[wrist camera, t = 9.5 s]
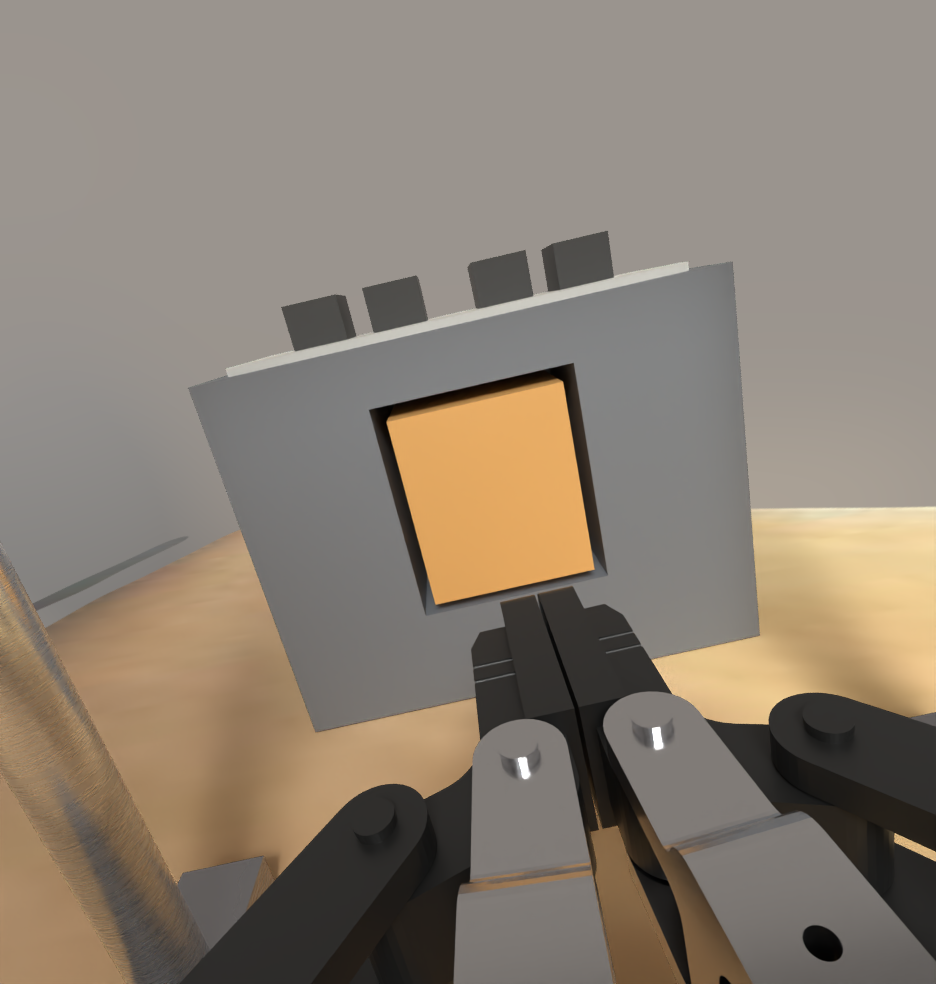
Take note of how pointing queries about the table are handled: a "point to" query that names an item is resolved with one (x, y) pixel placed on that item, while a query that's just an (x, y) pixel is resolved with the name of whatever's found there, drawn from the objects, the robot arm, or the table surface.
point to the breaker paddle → (492, 485)
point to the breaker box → (463, 363)
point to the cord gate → (105, 814)
